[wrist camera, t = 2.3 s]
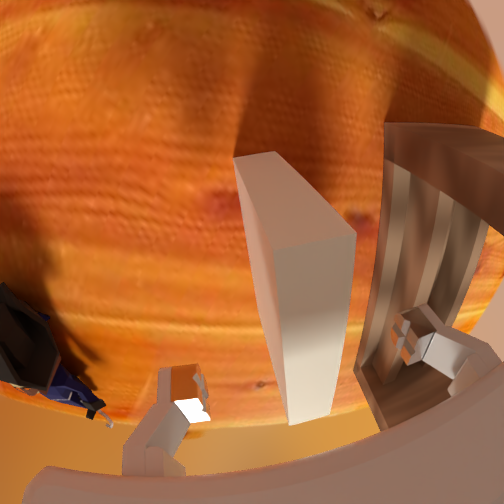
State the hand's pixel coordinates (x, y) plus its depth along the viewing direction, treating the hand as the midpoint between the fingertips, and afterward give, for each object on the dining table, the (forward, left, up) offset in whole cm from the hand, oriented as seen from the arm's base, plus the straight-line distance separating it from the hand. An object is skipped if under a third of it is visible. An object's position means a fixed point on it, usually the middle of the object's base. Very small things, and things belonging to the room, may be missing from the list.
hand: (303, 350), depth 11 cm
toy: (+5, -18, -7) cm, 19 cm away
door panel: (-1, 0, -7) cm, 7 cm away
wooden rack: (+4, +11, -7) cm, 13 cm away
